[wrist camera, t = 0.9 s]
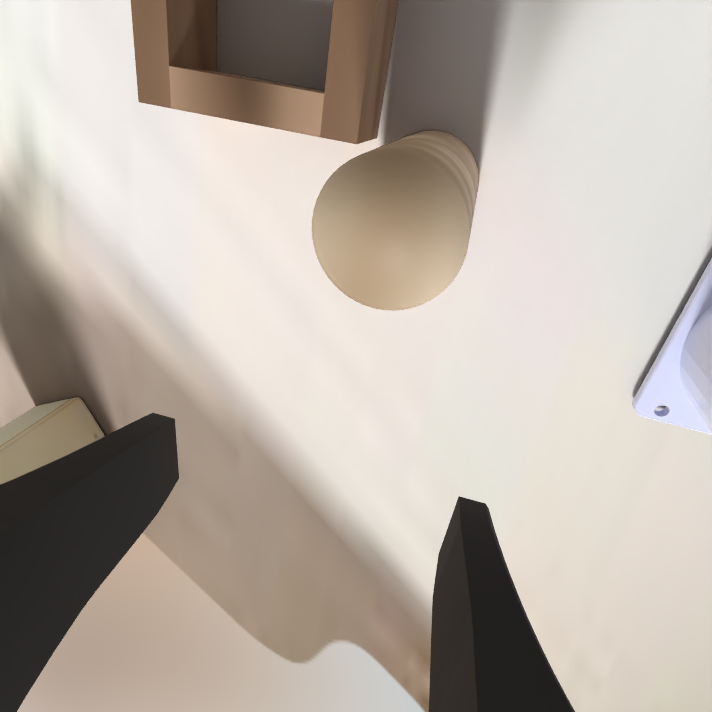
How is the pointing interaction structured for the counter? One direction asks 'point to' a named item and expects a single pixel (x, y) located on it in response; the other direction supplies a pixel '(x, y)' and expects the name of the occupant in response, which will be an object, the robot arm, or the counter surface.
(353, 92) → the walnut holder
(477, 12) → the counter surface
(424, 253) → the beech peg
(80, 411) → the skincare box
